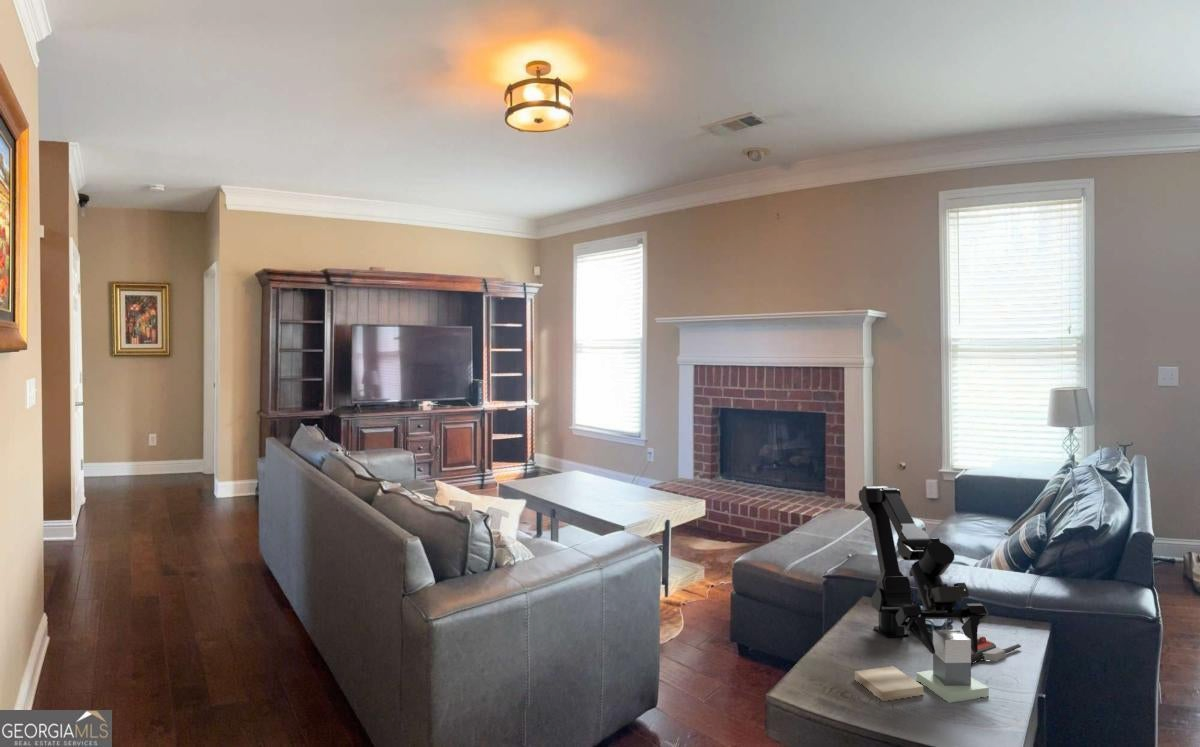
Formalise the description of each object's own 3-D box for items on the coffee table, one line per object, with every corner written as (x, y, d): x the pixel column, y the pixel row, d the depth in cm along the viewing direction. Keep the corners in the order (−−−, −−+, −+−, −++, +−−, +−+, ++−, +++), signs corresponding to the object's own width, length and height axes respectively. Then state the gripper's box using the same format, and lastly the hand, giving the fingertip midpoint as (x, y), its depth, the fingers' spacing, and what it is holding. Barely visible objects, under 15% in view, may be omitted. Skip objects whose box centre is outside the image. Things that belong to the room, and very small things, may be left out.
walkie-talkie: (974, 671, 159) (1024, 652, 168) (974, 652, 159) (1024, 635, 168) (939, 657, 166) (989, 640, 176) (939, 639, 166) (989, 623, 176)
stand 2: (916, 681, 154) (916, 672, 154) (954, 675, 156) (954, 667, 156) (948, 702, 144) (948, 693, 144) (988, 696, 146) (988, 687, 146)
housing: (933, 674, 153) (932, 629, 152) (957, 673, 153) (957, 629, 152) (945, 685, 147) (945, 640, 147) (970, 685, 147) (970, 639, 147)
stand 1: (854, 680, 154) (854, 671, 154) (893, 674, 157) (893, 666, 157) (882, 701, 145) (882, 692, 145) (923, 695, 147) (923, 686, 147)
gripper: (901, 569, 153) (924, 638, 142) (983, 568, 153) (1013, 637, 143) (886, 592, 161) (907, 659, 150) (964, 591, 161) (991, 657, 151)
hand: (954, 652), depth 148 cm, fingers open, 9 cm apart
